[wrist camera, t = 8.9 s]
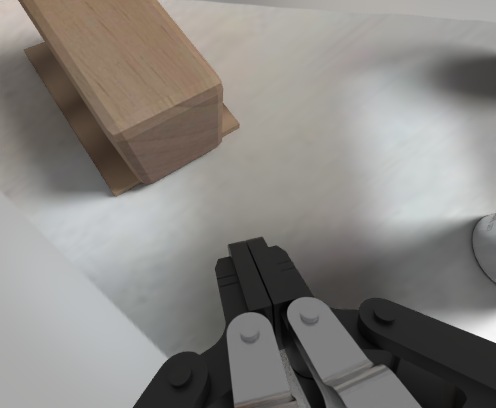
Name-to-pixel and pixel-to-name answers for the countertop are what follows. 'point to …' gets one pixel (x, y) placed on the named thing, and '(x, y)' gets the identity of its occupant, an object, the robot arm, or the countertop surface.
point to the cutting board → (93, 121)
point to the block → (136, 79)
